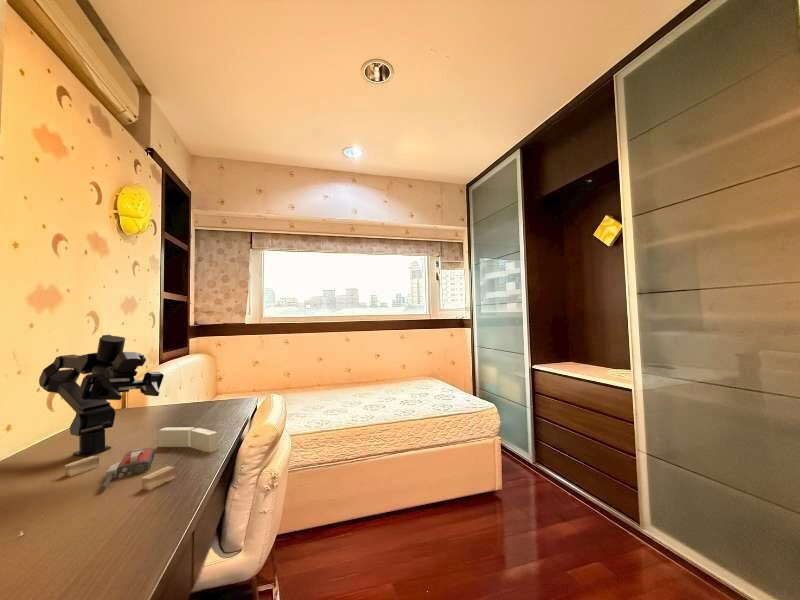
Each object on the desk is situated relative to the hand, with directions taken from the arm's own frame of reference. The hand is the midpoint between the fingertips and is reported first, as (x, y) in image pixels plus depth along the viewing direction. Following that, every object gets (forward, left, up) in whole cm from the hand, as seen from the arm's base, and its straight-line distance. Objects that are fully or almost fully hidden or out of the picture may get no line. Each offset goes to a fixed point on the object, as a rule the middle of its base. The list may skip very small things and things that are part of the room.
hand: (140, 396), depth 91 cm
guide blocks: (+2, -6, -18) cm, 19 cm away
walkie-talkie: (+2, -4, -19) cm, 19 cm away
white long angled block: (+2, +12, -18) cm, 22 cm away
